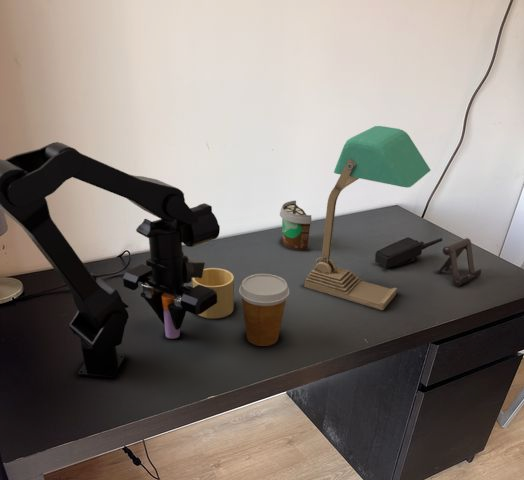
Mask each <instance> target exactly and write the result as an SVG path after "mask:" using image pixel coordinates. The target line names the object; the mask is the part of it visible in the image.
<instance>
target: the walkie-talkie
mask: <svg viewBox="0 0 524 480" xmlns="http://www.w3.org/2000/svg"><path fill="white" fill-rule="evenodd" d="M441 242H443V238H442V237H439V238H437V239H434V240H432V241H429V242H424V241H419V240H418V239H416V240H415V239H413V238H412V237H404V238H403V239H399V240H398V241H395V242H393V243H391V244H389V245H386V246H385V247H382V248H380V249H378V250H376V251H375V257H374V262H375V263H376V264H378V265H380V266H382V267H383V268H385V269H388V268H395V267H398V266H401V265H405V264H409V263H412V262H414V261H417V260H418V259H419V256H421V255H422V253H423V250H425V249H427V248H429V247H431V246H433V245H435V244H438V243H441Z"/></svg>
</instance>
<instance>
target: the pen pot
mask: <svg viewBox="0 0 524 480" xmlns="http://www.w3.org/2000/svg"><path fill="white" fill-rule="evenodd" d="M191 282H192V287H193V288H194V287H196V286H197V285H202V286H205V287H207V288H210V289H213V290H214V291H216V292H217V303H216V304H215V305H213V306H212V307H210V308H209V309H207V310H206V311H204V312H203V313H201V314H198V316H199V317H201V318H206V319H222V318H225V317H228V316H230V315H231V314H232V313H233V311H234V310H235V277H234V274H233V273H232V272H231V271H229V270H227V269H224V268H221V267H219V268H218V267H208V268H204V270H203V276H202V278H199V277H196V278H192V281H191Z"/></svg>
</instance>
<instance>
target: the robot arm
mask: <svg viewBox="0 0 524 480" xmlns="http://www.w3.org/2000/svg"><path fill="white" fill-rule="evenodd" d="M72 178H73V179H76V180H79V181H81V182H84V183H86V184H88V185H91V186H94V187H95V188H99V189H102V190H104V191H106V192H109V193H112V194H114V195H117V196H119V197H122V198H124V199H127V200H128V201H129V202H130V203H132V204H133V205H135V206H137V207H138V208H139V209H141V210H143V211H145V212H147V213H148V214H150V215H152V216H154V217H157V218H159V219H157V220H153V221H151V220H149V219H147V218H144V219H143V221H142V222H141V224H139V225H138V226H137V227H136V229H135V232H136V233H138V234H140V235H142V236H143V237H145V238H147V239H148V245H149V255H150V256H149V257H150V258H148V259H145V264H143V263H141V264H139V265H137V266H135V267H133V268H131V269H129V270H127V271H125V273H124V274H123V277H122V281H123V287H124V288H127V289H128V290H131V291H135V290H137V289H138V288H139V283H140V286H141V287H142V292H140V297H141V298H143V299H144V300H145V301H146V303H147V304H148V305H149V306H150V307H151V309H152V310H153V312H154V313H155V315H156V316H157V318H158V319H159V320H160V321H161V323H162V324H163V325H164V326H165V322H164V311H163V306H162V294H163V293H167V294H170V295H172V296H175V301H174V302H172V303H170V304H169V305H168V309H169V312H170V315H171V318H172V321H173V325H174V327H175V329H176V330H178V329H181V328H182V326H183V322H184V319H185V316H186V313H190V314H192V315H196V316H197V315H198V314H201V313H203V312H204V311H206V310H207V309H209V308H210V307H212V306H213V305H215V304H216V303H217V292H216V291H214V290H213V289H210V288H207V287H205V286H202V285H197V286H196V287H194V288H193V286H191V285H187V284H190V283H191V282H192V278H196V277H199V278H202V276H203V270H204V269H205V266H206V265H205V264H206V261H204V260H200V259H199V258H194V257H191V256H187V255H184V251H183V244H184V245H185V246H186V247H189V248H192V247H196V246H199V245H201V244H204V243H207V242H211V241H213V240H216V239H217V238H218V237H219V235H220V229H221V225H220V224H219V221H218V219H217V217H216V215H215V213H213V206H212V205H211V204H208V203H205V202H204V203H200V204H198V205H196V206H193V207H190V206H189V205H188V204H187V203H186V198H185V193H184V192H183V191H182V190H181V189H180V188H178V187H176V186H174V185H171V184H169V183H166V182H164V181H161V180H159V179H156V178H152V177H147V176H141V175H133V174H129V173H127V172H125V171H122V170H120V169H118V168H115V167H114V166H111V165H109V164H106V163H104V162H102V161H100V160H97V159H95V158H93V157H91V156H88V155H86V154H83V153H82V152H79V151H78V150H77V149H76V148H74V147H72V146H69V145H67V144H65V143H63V142H59V141H56V142H55V141H54V142H51V143H49V144H46V145H45V146H43V147H40V148H38V149H34V150H29V151H26V152H22V153H18V154H15V155H12V156H10V157H8V158H6V159H1V158H0V210H1V211H2V212H3V213H4V214H6V215H7V216H8V217H9V218H10V219H11V220H13V221H14V222H15V223H16V224H17V225H19V226H20V228H22V229H23V231H24V232H25V233H26V235H27V236H28V237H29V238H30V240H31V241H32V242H33V244H34V245H35V246H36V248H37V249H38V250H39V251H40V253H41V254H42V255H43V256H44V258H45V259H46V261H47V262H48V263H49V265H51V267H52V268H53V269H54V271H55V272H56V273H57V275H58V276H59V277H60V278H61V279H62V281H63V282H64V283H65V285H66V286H67V288H68V289H69V290H70V291H71V293H72V298H73V302H74V304H75V306H76V308H77V311H76V313H75V314H74V316H73V318H72V319H71V321H70V322H69V324H68V328H69V329H70V331H72V333H73V334H74V335H76V336H77V337H78V338H79V339H80V347H81V351H82V357H83V362H84V363H83V364H82V366H81V368H80V369H79V370H78V375H79V376H81V377H90V378H99V379H100V378H101V379H110V380H111V379H115V377H116V375H117V373H118V372H119V370H120V368H121V366H122V365H123V364H124V361H125V359H126V357H125V355H122V354H118V353H117V347H118V346H120V345H122V343H123V338H124V335H125V330H126V329H125V328H126V325H127V323H128V319H129V317H130V316H129V312H128V310H127V308H129V305H128V304H127V303H125V302H124V301H123V299H122V297H121V295H120V293H119V291H118V290H117V289H116V288H114V286H111V285H110V284H109V283H107V282H105V280H103V279H102V278H100V277H98V278H97V279H95V278H94V277H93V275H92V274H91V273H90V271H89V269H88V268H87V267H86V265H85V264H84V262H83V261H82V260H81V258H80V257H79V255H78V254H77V252H76V251H75V250H74V248H73V246H71V244H70V243H69V241H68V240H67V238H66V237H65V236H64V234H63V233H62V232H61V230H60V229H59V228H58V226H57V225H56V223H55V222H54V220H53V219H52V217H51V213H50V209H49V204H48V201H47V199H46V197H49V196H50V195H52V194H54V193H55V192H56V191H57V190H58V189H59V188H60V187H61V186H62V185H63V184H64V183H65V182H67V181H68V180H71V179H72ZM185 284H186V286H185ZM198 316H199V315H198Z"/></svg>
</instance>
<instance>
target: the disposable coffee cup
mask: <svg viewBox="0 0 524 480" xmlns="http://www.w3.org/2000/svg"><path fill="white" fill-rule="evenodd" d="M238 292H239V295H240V297H241V303H242V309H243V310H242V311H243V318H244V324H245V325H244V326H245V334H246V340H247V341H248V342H249V343H250V344H253V345H254V346H257V347H258V346H259V347H260V346H261V347H268V346H272V345H274V344H276V343H277V342H278V340H279V336H280V331H281V326H282V323H283V322H282V321H283V317H284V312H285V311H284V310H285V307H286V303H287V299H288V297H289V296H290V288H289V286H288V283H287V281H286V280H285V279H284V278H283V277H281V276H279V275H275V274H271V273H255V274H252V275H248V276H247V277H245V278H244V279H243V280H242V281H241V284H240V286H239V289H238Z"/></svg>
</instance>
